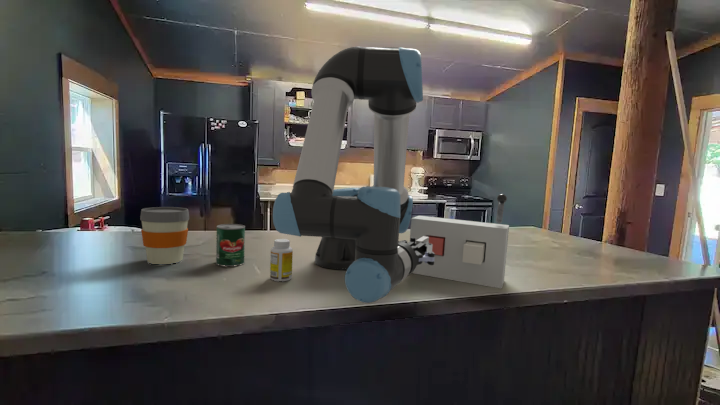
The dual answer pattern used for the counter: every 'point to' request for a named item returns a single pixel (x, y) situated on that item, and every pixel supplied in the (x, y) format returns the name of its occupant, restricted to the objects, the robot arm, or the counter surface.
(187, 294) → the counter surface
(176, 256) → the reusable coffee cup
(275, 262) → the supplement bottle
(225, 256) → the canned tomato
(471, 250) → the ivory button
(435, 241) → the red button
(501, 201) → the toggle lever
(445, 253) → the console
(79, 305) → the counter surface
